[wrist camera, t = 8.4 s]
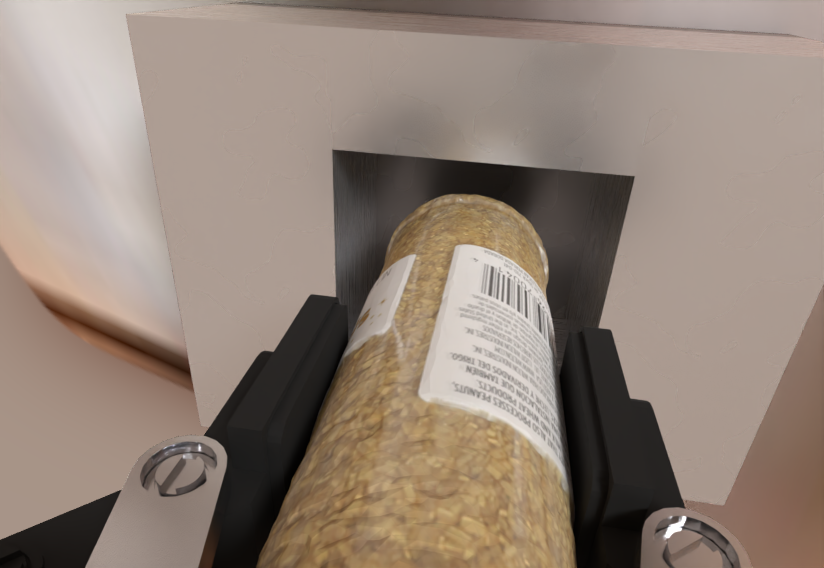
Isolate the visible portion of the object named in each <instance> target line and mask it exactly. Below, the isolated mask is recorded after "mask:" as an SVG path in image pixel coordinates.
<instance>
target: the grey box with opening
mask: <svg viewBox="0 0 824 568" xmlns="http://www.w3.org/2000/svg"><path fill="white" fill-rule="evenodd" d="M126 18H127V23H128V29H129V34H130V40H131V45H132V51H133V56H134V62H135V67H136V73H137V78H138V84H139V89H140V95H141V100H142V106H143V111H144V117H145V122H146V128H147V133H148V139H149V144H150V150H151V155H152V161H153V166H154V172H155V177H156V183H157V188H158V194H159V199H160V205H161V210H162V216H163V221H164V227H165V232H166V238H167V243H168V249H169V254H170V260H171V265H172V271H173V277H174V282H175V288H176V293H177V299H178V304H179V310H180V315H181V321H182V326H183V332H184V337H185V343H186V348H187V354H188V359H189V365H190V370H191V376H192V381H193V387H194V392H195V397H196V403H197V409H198V414H199V420H200V425H201V426H203V427H210V426H211V424H212V423H213V421H214V420H215V418H216V417H217V415H218V414H219V412H220V411H221V409H222V408H223V406H224V405H225V403H226V402H227V400H228V399H229V397H230V396H231V394H232V393H233V391H234V390H235V388H236V387H237V385H238V384H239V382H240V381H241V379H242V378H243V376H244V375H245V373H246V372H247V370H248V369H249V368H250V366H251V365H252V363H253V362H254V360H255V359H256V357H257V356H258V355H259V354H260V352H262V351H272V352H274V350H275V349H276V347H277V346H278V344H279V342H280V341H281V339H282V338H283V336H284V335H285V333H286V331H287V330H288V328H289V327H290V325H291V324H292V322H293V320H294V319H295V317H296V316H297V314H298V313H299V311H300V309H301V308H302V306H303V305H304V303H305V302H306V300H307V298H308V297H309V296H310V295H311V294H315V295H323V296H332V297H338V299H339V302H340V304H341V305H347V308H348V341H349V339H350V336H351V334H352V332H353V329H354V327H355V325H356V322H357V320H358V318H359V316H360V313H361V311H362V309H363V307H364V304H365V302H366V300H367V297H368V295H369V293H370V291H371V289H372V288H373V286H374V284H375V283H376V281H377V280H378V279H379V277H380V274H381V271H382V269H383V267H384V264H385V256H386V252H387V247H388V245H389V243H390V240H391V237H392V235H393V233H394V231H395V230H396V228H397V227H398V226H399V224H400V223H401V222H402V221H403V220H404V219H405V218H406V217H407V216H408V215H409V214H411V213H413V212H414V211H415V210H416V209H417V208H418V207H420V206H421V205H423V204H425V203H426V202H428V201H430V200H433V199H435V198H438V197H440V196H444V195H448V194H468V195H473V194H477V195H481V196H485V197H490V198H492V199H495V200H498V201H501V202H504V203H505V204H507V205H509V206H511V207H512V208H514V209H515V210H516V211H517V212H518V213H520V214H521V215H523V216H524V217H525V218H526V219H527V220H528V221H529V222H530V223H531V224H532V226H533V228H534V230H535V231H536V233H537V234H538V235H539V237H540V238H541V240H542V244H543V247H544V249H545V251H546V254H547V258H548V268H549V279H548V283H547V287H546V297H547V303H548V306H549V309H550V313H551V317H552V323H553V329H554V337H555V345H556V353H557V361H558V368H559V375H560V371H561V366H562V361H563V356H564V352H565V347H566V342H567V338H568V334H569V332H576V333H578V332H579V329H580V327H581V326H586V327H595V328H603V329H610V330H611V331H612V334H613V338H614V341H615V345H616V349H617V352H618V356H619V360H620V363H621V367H622V370H623V374H624V378H625V381H626V385H627V389H628V392H629V396H630V398H631V399H638V400H646V401H648V402H650V403H651V405H652V407H653V410H654V413H655V416H656V419H657V422H658V425H659V429H660V432H661V435H662V438H663V441H664V444H665V447H666V450H667V453H668V457H669V460H670V463H671V466H672V469H673V472H674V475H675V478H676V481H677V484H678V488H679V491H680V494H681V497H682V499H683V500H689V501H696V502H703V503H709V504H716V505H722V506H724V505H725V502H726V500H727V498H728V496H729V493H730V491H731V489H732V487H733V485H734V482H735V480H736V478H737V476H738V473H739V471H740V469H741V467H742V465H743V462H744V460H745V458H746V456H747V453H748V451H749V449H750V447H751V445H752V442H753V440H754V438H755V436H756V433H757V431H758V429H759V427H760V425H761V422H762V420H763V418H764V416H765V413H766V411H767V409H768V407H769V405H770V402H771V400H772V398H773V396H774V393H775V391H776V389H777V387H778V385H779V382H780V380H781V378H782V376H783V373H784V371H785V369H786V367H787V365H788V362H789V360H790V358H791V356H792V353H793V351H794V349H795V347H796V345H797V342H798V340H799V338H800V336H801V333H802V331H803V329H804V327H805V325H806V322H807V320H808V318H809V316H810V313H811V311H812V309H813V307H814V305H815V302H816V300H817V298H818V296H819V293H820V291H821V289H822V287H823V285H824V42H821V41H817V40H812V39H807V38H803V37H798V36H794V35H789V34H774V33H757V32H740V31H723V30H706V29H688V28H671V27H654V26H637V25H620V24H603V23H586V22H568V21H551V20H534V19H517V18H500V17H483V16H466V15H448V14H431V13H414V12H397V11H380V10H363V9H346V8H328V7H311V6H294V5H277V4H260V3H243V2H239V3H230V4H220V5H210V6H201V7H191V8H181V9H172V10H162V11H152V12H142V13H133V14H126Z"/></svg>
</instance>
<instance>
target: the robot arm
mask: <svg viewBox="0 0 824 568" xmlns="http://www.w3.org/2000/svg"><path fill="white" fill-rule="evenodd" d="M347 344H348V308H347V305H341V304H340V302H339V299H338V297H332V296H323V295H315V294H311V295H310V296H309V297H308V298H307V300H306V302H305V303H304V305H303V306H302V308H301V309H300V311H299V313H298V314H297V316H296V317H295V319H294V320H293V322H292V324H291V325H290V327H289V328H288V330H287V331H286V333H285V335H284V336H283V338H282V339H281V341H280V342H279V344H278V346H277V347H276V349H275V350H274V352H272V351H262V352H260V354H259V355H258V356H257V357H256V359H255V360H254V362H253V363H252V365H251V366H250V368H249V369H248V370H247V372H246V373H245V375H244V376H243V378H242V379H241V381H240V382H239V384H238V385H237V387H236V388H235V390H234V391H233V393H232V394H231V396H230V397H229V399H228V400H227V402H226V403H225V405H224V406H223V408H222V409H221V411H220V412H219V414H218V415H217V417H216V418H215V420H214V421H213V423H212V424H211V426H210V427H209V429H208V430H207V432H206V433H205V435H204V436H199V435H186V436H178V437H174V438H171V439H168V440H166V441H163V442H161V443H159V444H157V445H155V446H153V447H152V448H150V449H149V450H148V451H146V452H145V453H144V454H143V455H142V456H141V457H140V458H139V459H138V461H137V462H136V463H135V465H134V466H133V467H132V469H131V471H130V473H129V476H128V478H127V480H126V482H125V484H124V486H123V488H122V490H120V491H117V492H115V493H112V494H110V495H108V496H105V497H103V498H100V499H98V500H96V501H93V502H91V503H89V504H86V505H83V506H81V507H79V508H76V509H74V510H71V511H69V512H66V513H64V514H62V515H59V516H57V517H54V518H52V519H50V520H47V521H45V522H43V523H40V524H38V525H35V526H33V527H30V528H28V529H26V530H23V531H21V532H18V533H16V534H13V535H11V536H9V537H6V538H4V539H1V540H0V568H256V566H257V563H258V559H259V556H260V553H261V551H262V549H263V547H264V545H265V543H266V541H267V539H268V537H269V534H270V531H271V529H272V526H273V524H274V523H275V521H276V520H277V517H278V515H279V512H280V509H281V507H282V504H283V501H284V499H285V496H286V494H287V492H288V491H289V488H290V485H291V481H292V478H293V476H294V475H295V473H296V471H297V469H298V467H299V465H300V464H301V462H302V460H303V458H304V456H305V452H306V449H307V446H308V443H309V442H310V438H311V434H312V431H313V428H314V425H315V422H316V419H317V416H318V413H319V411H320V408H321V406H322V403H323V401H324V398H325V396H326V393H327V391H328V389H329V387H330V385H331V383H332V380H333V378H334V375H335V373H336V370H337V368H338V365H339V363H340V360H341V358H342V355H343V353H344V351H345V349H346V346H347ZM559 376H560V384H561V392H562V400H563V408H564V417H565V425H566V434H567V442H568V451H569V459H570V468H571V477H572V485H573V494H574V504H575V521H574V527H573V534H574V538H575V549H576V561H577V568H753V567H752V564H751V561H750V558H749V555H748V553H747V552H746V550H745V549H744V547H743V546H742V544H741V543H740V541H739V540H738V539H737V538H736V537H735V536H734V535H733V534H732V533H731V532H730V531H729V530H728V529H727V528H726V527H724V526H723V525H721V524H720V523H718V522H717V521H715V520H713V519H712V518H710V517H708V516H706V515H703V514H701V513H699V512H696V511H694V510H689V509H685V506H684V503H683V500H682V497H681V494H680V491H679V488H678V484H677V481H676V478H675V475H674V472H673V469H672V466H671V463H670V460H669V457H668V453H667V450H666V447H665V444H664V441H663V438H662V435H661V432H660V429H659V425H658V422H657V419H656V416H655V413H654V410H653V407H652V405H651V403H650V402H648V401H646V400H638V399H631V398H630V396H629V392H628V389H627V385H626V381H625V378H624V374H623V370H622V367H621V363H620V360H619V356H618V352H617V349H616V345H615V341H614V338H613V334H612V331H611V330H610V329H603V328H595V327H586V326H581V327H580V329H579V332H578V333H576V332H569V334H568V338H567V342H566V347H565V352H564V356H563V361H562V366H561V371H560V375H559Z"/></svg>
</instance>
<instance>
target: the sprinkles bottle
mask: <svg viewBox="0 0 824 568" xmlns="http://www.w3.org/2000/svg"><path fill="white" fill-rule="evenodd" d="M548 279H549V268H548V258H547V254H546V251H545V249H544V247H543V244H542V240H541V238H540V237H539V235H538V234H537V233H536V231H535V230H534V228H533V226H532V224H531V223H530V222H529V221H528V220H527V219H526V218H525V217H524V216H523V215H521V214H520V213H518V212H517V211H516V210H515V209H514V208H512V207H511V206H509V205H507V204H505V203H504V202H501V201H498V200H495V199H492V198H490V197H485V196H481V195H477V194H473V195H468V194H448V195H444V196H440V197H438V198H435V199H433V200H430V201H428V202H426V203H425V204H423V205H421V206H420V207H418V208H417V209H416V210H415V211H414V212H413V213H411V214H409V215H408V216H407V217H406V218H405V219H404V220H403V221H402V222H401V223H400V224H399V226H398V227H397V228H396V230H395V231H394V233H393V235H392V237H391V240H390V243H389V245H388V247H387V252H386V256H385V264H384V267H383V269H382V271H381V274H380V277H379V279H378V280H377V281H376V283H375V284H374V286H373V288H372V289H371V291H370V293H369V295H368V297H367V300H366V302H365V304H364V307H363V309H362V311H361V313H360V316H359V318H358V320H357V322H356V325H355V327H354V329H353V332H352V334H351V336H350V339H349V341H348V344H347V346H346V349H345V351H344V353H343V355H342V358H341V360H340V363H339V365H338V368H337V370H336V373H335V375H334V378H333V380H332V383H331V385H330V387H329V389H328V391H327V393H326V396H325V398H324V401H323V403H322V406H321V408H320V411H319V413H318V416H317V419H316V422H315V425H314V428H313V431H312V434H311V438H310V442H309V443H308V446H307V449H306V452H305V456H304V458H303V460H302V462H301V464H300V465H299V467H298V469H297V471H296V473H295V475H294V476H293V478H292V481H291V485H290V488H289V491H288V492H287V494H286V496H285V499H284V501H283V504H282V507H281V509H280V512H279V515H278V517H277V520H276V521H275V523H274V524H273V526H272V529H271V531H270V534H269V537H268V539H267V541H266V543H265V545H264V547H263V549H262V551H261V553H260V556H259V559H258V563H257V566H256V568H577V561H576V549H575V538H574V534H573V527H574V521H575V504H574V494H573V485H572V477H571V468H570V459H569V451H568V442H567V434H566V425H565V417H564V408H563V400H562V392H561V384H560V376H559V368H558V361H557V353H556V345H555V337H554V329H553V323H552V317H551V313H550V309H549V306H548V303H547V297H546V287H547V283H548Z"/></svg>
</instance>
